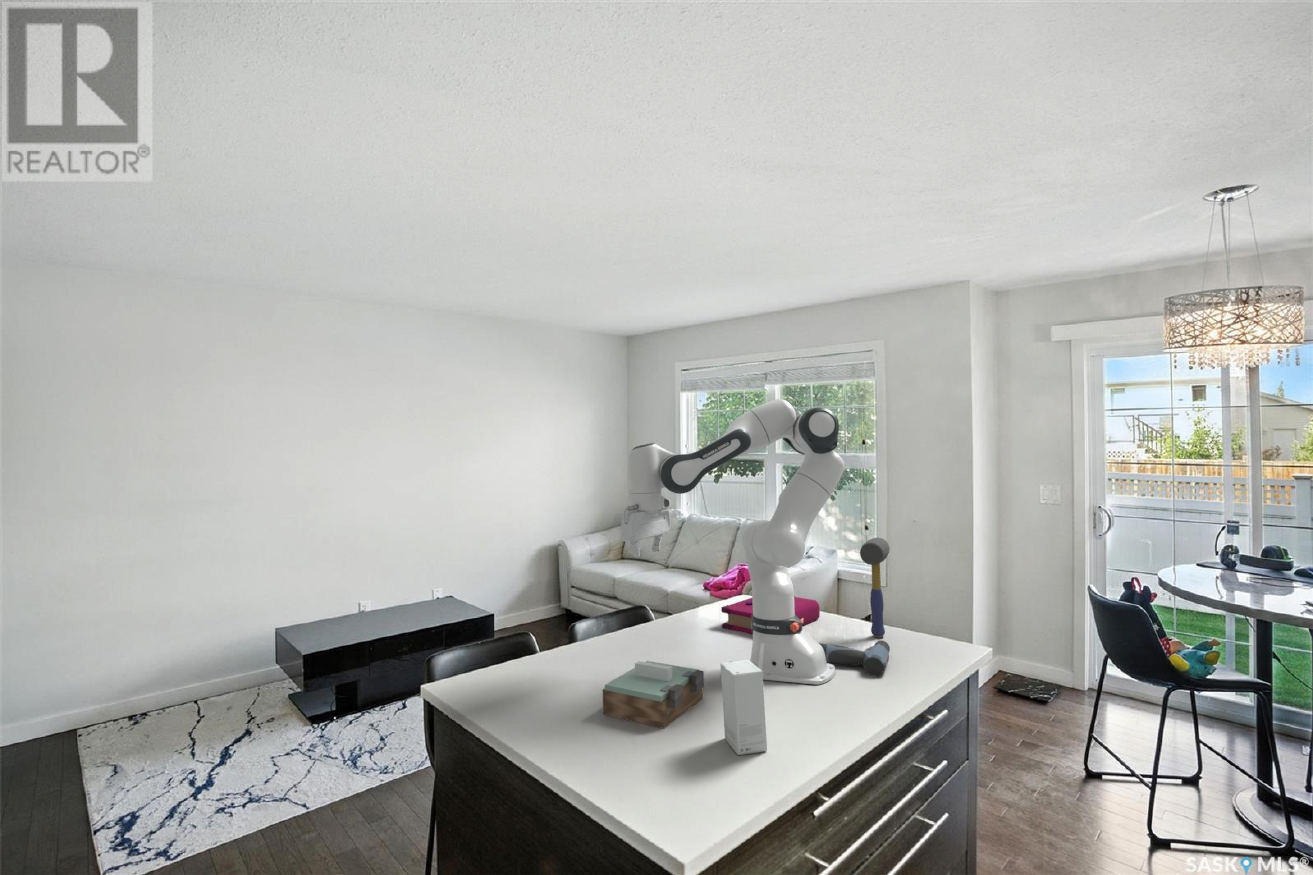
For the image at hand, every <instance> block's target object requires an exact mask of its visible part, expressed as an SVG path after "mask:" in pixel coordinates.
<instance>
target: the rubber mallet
mask: <svg viewBox="0 0 1313 875" xmlns="http://www.w3.org/2000/svg"><path fill="white" fill-rule="evenodd" d="M859 551H860V552H859V556H860V558H861V560H862V561H863V562H864V563H865V564H867V565H869V566H871V591H870V600H869V601H870V611H871V628H870V633H871V634H872V636H873V637H874V638H880V639H881V638H883V637H884V635H885V633H886V630H885V625H884V606H885V604H884V595H883V591H882V581H881V563H883V562H884V561H885V560H886V559H887V557H888V556H889V553H890V545H889V543H888V541H886V539H884V538H882V537H873V538H870V539H868V540H866V541H865V542H864V544H862V546H861V548H860V550H859Z"/></svg>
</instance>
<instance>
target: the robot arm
mask: <svg viewBox="0 0 1313 875" xmlns="http://www.w3.org/2000/svg"><path fill="white" fill-rule="evenodd" d="M839 431H840V424H839V419H838V417H837V416H836V414H835V413H834V412H833V411H832V410H830V409H828V408H825V407H820V406H819V407H813V408H810V409H807V410H806V411H805V412H803V413H799V412H798V411H796V410H795V408H794V406H793V405H792V404H791V403H790V402H789V401H787V400H785V399H782V398H776V399H773V400H771V401H767V402H764V403H762V404H760V405H757V406H755V407H752V408H751V409H749V410H748V411H746V412H743V413H742V414H740V415H739V416H738V417H736V418H735V419H734V420H733V421H731V422H730V423H729V424H728V426H727V428H726V431H724V433H723V434H722V435H721V436H720V437H719V438H717V439H715V440H713V441H712V442H711V443H709V444H707V445H705V446H703V447H702V448H700V449H698V450H695V452H692V453H687V454H685V453H683V454H681V453H680V454H678V453H674V452H671V451H669V450H668V449H665V448H664V447H663V448H662V446H660V445H658V443H654V442H650V443H646V444H642V445H637V446H634V447H633V448H631V450H630V452H629V456H628V467H627V468H628V480H629V483H630V484H629V491H628V500H629V502H628V503H629V504H628V505H627V506H626V507H625V510H623V513H622V516H621V521H620V538H621V541H622V542H629V545H630V548H631V550H632V552H633V557H634V558H640V557H642V553H643V552H642V551H643V550H642V549H640V546H639V545H640V542H641V541H640V540H644V539H648V538H653V544H652V545H651V551H652V552H656V553H657V552H659V551H661V544H662V540H663V535H664V534H668V533H669V532H670V529H671V511H670V508H671V505H672V504H671V502H672V501H671V499H669V498H667V497H665V496H664V495H662V489H663V488H665V489H667V490H668V491H670V492H671V493H673V494H678V495H679V494H681V495H682V494H687V493H690V492H691V491H692V490H693V489H695V488H696V487H697V485H699V483H700V482H701V480H702V478H703V477H704V476H705V475H707V474H708V473H710V472H711V471H713V470H715V469H716V468H718V467H720V466H722V465H724V464H725V463H727V462H729V461H730V460H732V459H735V458H739V457H742V456H746V455H748V454H752V453H755V452H757V451H760V450H762V449H764V448H766V447H767V446H770V445H771V444H773V443H775V442H777V441H780V440H781V439H782V440H783V441H784V442H786V444H788V445H789V446H790V448H791V449H793V450H794V451H795V452H796V453H798V454H800V455H803V456H804V458H803V461H802V464H801V465H800V466H799V468H798V469H797V471H796V472H795V473H794V475H793V476H792V477H791V479H790V480H789V481H788V483H787V484H786V486H785V487H784V489H783V490H782V491H781V492H780V494H779V496H778V502H777V506H776V509H775V511H774V513H773V515H772V517H771V519H769V520H768V519H758V520H754V521H751V522H750V523H747V525H745V527H744V528H743V530H742V533H741V538H740V539H741V543H742V547H743V549H744V552H745V557H746V563H747V568H748V572H749V578H750V584H751V598H752V603H753V614H752V616H751V629H752V634H751V635H752V647H751V651H750V652H751V654H750V659H749V661H750V662H752V663H753V664H754V665H755V666H756V667H758V668H759V669H760V670H761V671H763V681H764V680H766V681H776V682H785V683H786V682H787V683H797V684H807V685H821V684H824V683H827V682H829V681H830V680H832V679H833V678H834V676H835V675H836V667H835V665H832V664H828V663H827V662H826V657H825V653H824V650H823V648H822V646H821V645H820V644H818V642H817V640H815V639H814V638H812V637H811V636H810V635H808V633H806V632H805V631H804V630H803V626H802V623H803V622H804V621H803V619H804V618H802V619H801V620H800V619H799V618H798V617H797V616H796V615H795V609H794V597H795V589H794V588H795V587H794V584H793V582H792V579H791V577H790V573H789V570H788V568H789V567H790V568H791V567H794V566H796V565H798V564H799V563H800V562H801V560H802V559H803V557H804V555H805V551H806V540H807V537H808V534H809V532H810V529H811V526H812V524H813V522H814V520H816V518H817V516H818V514H819V513H820V511H822V508H823V507H824V505H825V504H826V503H827V501H828V500H829V498H830V497H831V496H832V494H833V493H834V491H835V489H836V488H837V486H838V484H839V482H840V480H841V478H842V477H843V474H844V472H845V466H846V465H845V462H844V460H843V457H841V456H840V455H839V453H838V452H836V451H835V449H837V447H838V440H839V433H840V432H839Z"/></svg>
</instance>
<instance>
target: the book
mask: <svg viewBox="0 0 1313 875" xmlns="http://www.w3.org/2000/svg"><path fill="white" fill-rule="evenodd" d="M794 609H795V615H796V616H797V617H798V618H799V619H800V620H801V619H802V618H804V619H803V621H804V622H803V623H802V627H804V626H805V625H807V624H811V623H812V622H814V621H816V620H819V619H820V615H821V614H820V611H821V610H820V604H819V602H818V601H817V600H816V599H812V598H811V599H810V598H804V597H797V596H794ZM720 612H721V613H723V614H727V617H728V618H727V619H728V620H727V621H726V622H723V623H721V628H722V629H724V630H729V631H734V632H739V633H744V634H748V635H752V629H751V616H752V614H753V603H752V597H750V598H746V599H744V600H742V601H741V600H740V601H738V602H734V603H732V604H726V605H724V606H722V607H721V611H720Z"/></svg>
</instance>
